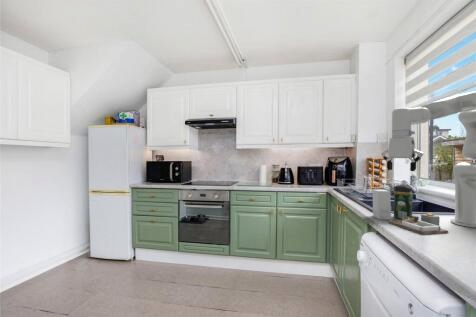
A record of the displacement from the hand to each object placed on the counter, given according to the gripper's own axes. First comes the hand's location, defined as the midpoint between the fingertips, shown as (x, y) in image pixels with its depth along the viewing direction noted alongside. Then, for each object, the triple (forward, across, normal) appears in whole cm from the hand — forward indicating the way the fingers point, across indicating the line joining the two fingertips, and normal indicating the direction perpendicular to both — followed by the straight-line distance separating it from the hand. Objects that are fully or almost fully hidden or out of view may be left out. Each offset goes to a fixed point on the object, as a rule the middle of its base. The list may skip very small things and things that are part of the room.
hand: (400, 170), depth 109 cm
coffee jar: (+28, +8, -22) cm, 36 cm away
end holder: (+28, -6, -6) cm, 29 cm away
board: (+28, -3, -8) cm, 29 cm away
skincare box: (+28, +14, -11) cm, 33 cm away
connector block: (+28, -5, -18) cm, 34 cm away
